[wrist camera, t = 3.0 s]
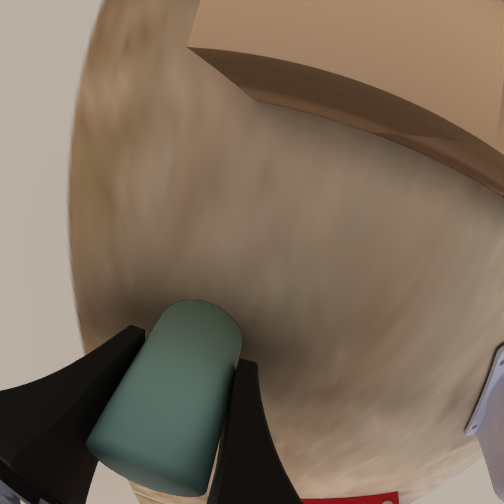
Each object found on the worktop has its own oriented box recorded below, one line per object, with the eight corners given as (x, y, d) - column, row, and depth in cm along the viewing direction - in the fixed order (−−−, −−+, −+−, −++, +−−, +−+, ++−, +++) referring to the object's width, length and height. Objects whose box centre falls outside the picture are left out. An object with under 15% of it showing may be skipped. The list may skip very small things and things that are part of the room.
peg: (253, 361, 12) (226, 501, 6) (181, 368, 13) (132, 485, 7) (224, 292, 11) (164, 449, 5) (146, 307, 11) (63, 428, 6)
